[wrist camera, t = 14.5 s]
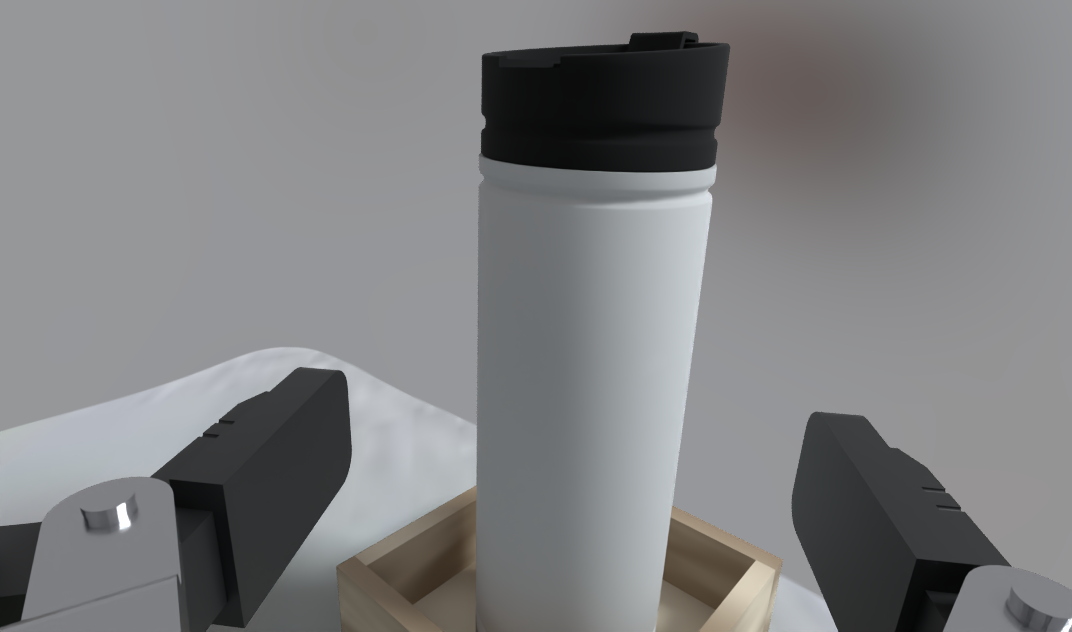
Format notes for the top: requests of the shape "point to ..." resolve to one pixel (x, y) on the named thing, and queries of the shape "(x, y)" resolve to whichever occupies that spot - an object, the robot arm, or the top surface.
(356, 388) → the top surface
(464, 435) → the top surface
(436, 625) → the birch dock
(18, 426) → the top surface
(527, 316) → the travel mug
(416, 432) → the top surface
